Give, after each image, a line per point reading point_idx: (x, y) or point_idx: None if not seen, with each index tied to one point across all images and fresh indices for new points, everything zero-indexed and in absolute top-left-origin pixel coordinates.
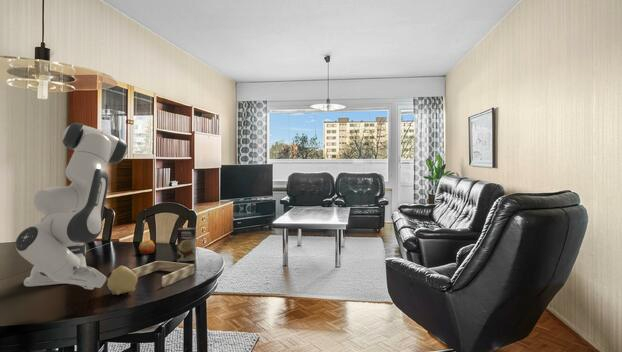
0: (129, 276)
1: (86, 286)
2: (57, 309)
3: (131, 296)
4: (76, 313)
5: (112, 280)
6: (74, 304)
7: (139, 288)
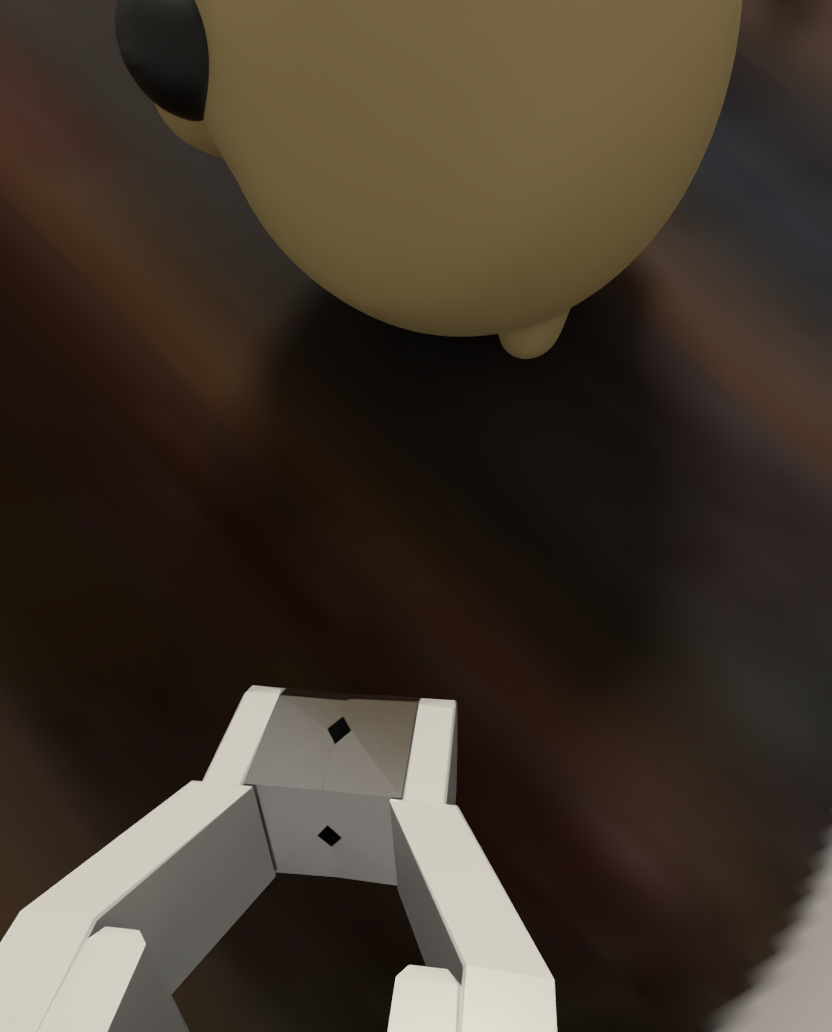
0: (731, 19)
1: (336, 866)
2: None
3: (651, 275)
4: None
5: (461, 245)
6: (152, 716)
7: None
